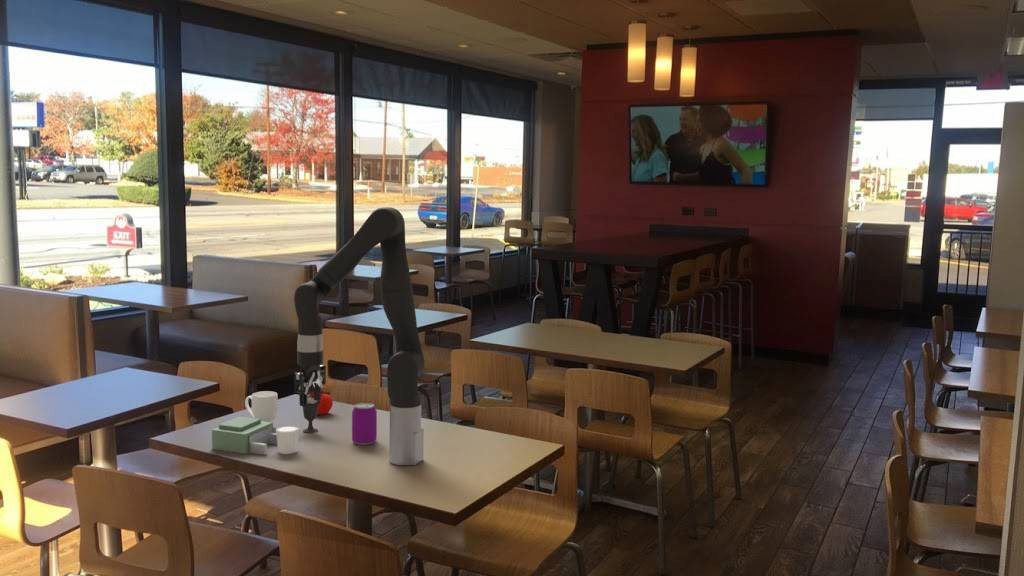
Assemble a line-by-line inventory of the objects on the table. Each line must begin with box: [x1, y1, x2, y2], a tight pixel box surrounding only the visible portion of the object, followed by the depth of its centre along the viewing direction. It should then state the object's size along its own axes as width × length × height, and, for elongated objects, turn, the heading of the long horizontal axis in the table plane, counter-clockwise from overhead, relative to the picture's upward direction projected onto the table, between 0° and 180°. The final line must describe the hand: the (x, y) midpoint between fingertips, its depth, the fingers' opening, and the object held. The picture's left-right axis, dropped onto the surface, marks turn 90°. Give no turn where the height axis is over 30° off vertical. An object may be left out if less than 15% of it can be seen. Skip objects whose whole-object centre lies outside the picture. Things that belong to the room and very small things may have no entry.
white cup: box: [275, 425, 300, 455], centre depth 253 cm, size 7×7×7 cm
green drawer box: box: [211, 416, 274, 454], centre depth 258 cm, size 12×14×7 cm
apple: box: [317, 392, 334, 415], centre depth 296 cm, size 8×8×7 cm
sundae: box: [302, 387, 320, 434], centre depth 274 cm, size 7×7×15 cm
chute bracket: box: [248, 427, 277, 456], centre depth 255 cm, size 6×11×5 cm, turn 162°
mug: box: [244, 390, 279, 423], centre depth 278 cm, size 12×8×11 cm
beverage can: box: [351, 402, 378, 446], centre depth 264 cm, size 8×8×12 cm
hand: (310, 402), depth 249 cm, fingers open, 7 cm apart
